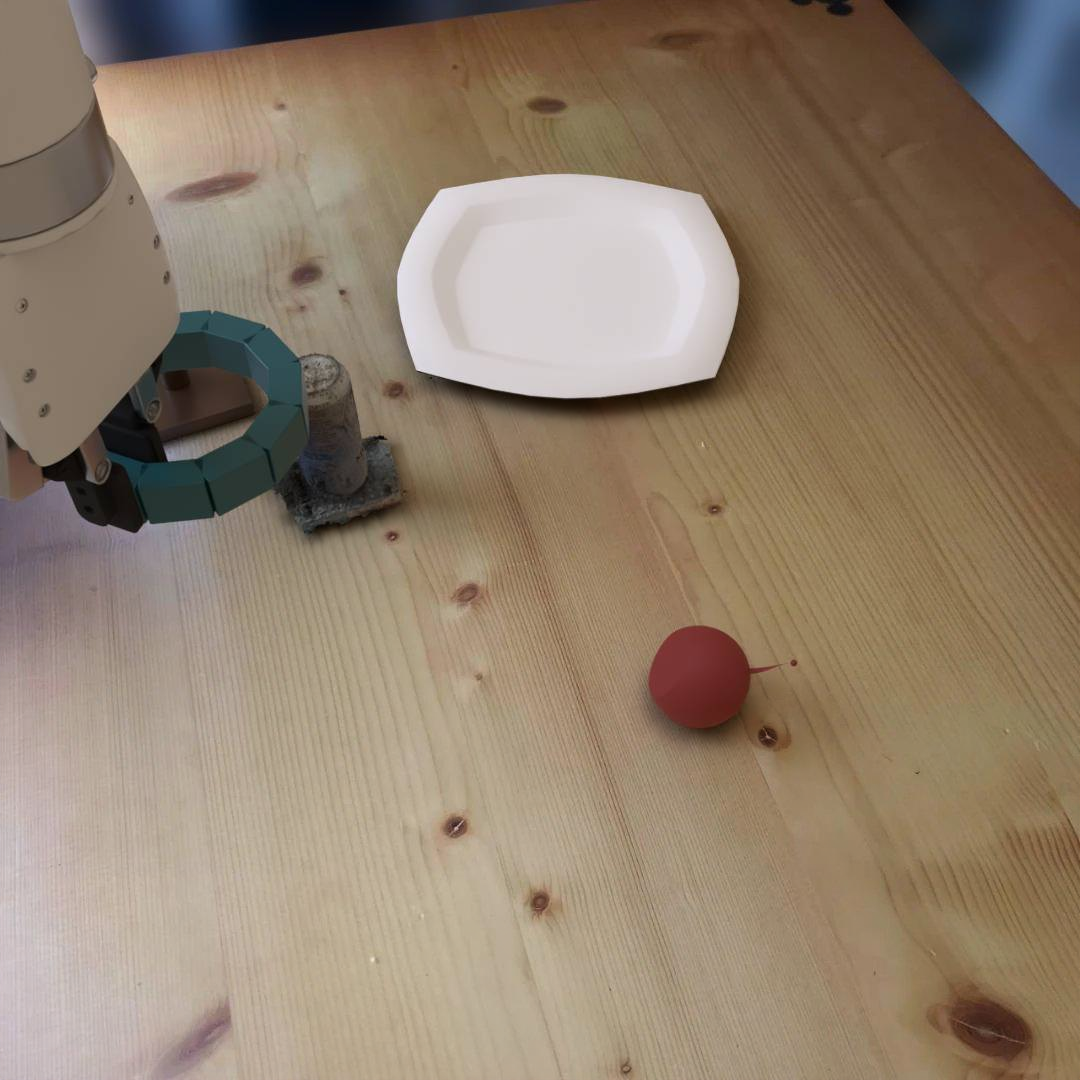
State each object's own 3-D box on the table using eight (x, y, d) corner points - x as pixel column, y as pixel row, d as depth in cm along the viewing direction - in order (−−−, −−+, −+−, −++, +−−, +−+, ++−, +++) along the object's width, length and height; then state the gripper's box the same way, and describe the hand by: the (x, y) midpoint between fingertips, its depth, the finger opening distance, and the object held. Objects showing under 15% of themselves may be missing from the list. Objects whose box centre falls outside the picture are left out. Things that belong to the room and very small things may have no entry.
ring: (229, 553, 58) (218, 518, 56) (12, 479, 60) (-5, 443, 59) (350, 383, 64) (345, 347, 63) (150, 323, 67) (139, 287, 65)
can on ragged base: (308, 551, 87) (281, 426, 78) (261, 477, 91) (229, 350, 82) (427, 497, 90) (414, 371, 81) (376, 429, 94) (359, 301, 85)
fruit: (714, 760, 80) (797, 708, 74) (636, 726, 78) (715, 670, 72) (719, 677, 83) (799, 621, 78) (645, 642, 82) (721, 583, 76)
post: (133, 451, 93) (88, 321, 84) (105, 371, 98) (59, 240, 89) (255, 414, 95) (224, 283, 86) (221, 338, 101) (188, 207, 91)
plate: (726, 195, 112) (729, 175, 111) (748, 420, 95) (751, 401, 94) (414, 189, 113) (413, 169, 111) (381, 411, 96) (378, 392, 94)
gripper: (45, 22, 51) (154, 368, 65) (-253, 263, 42) (-50, 604, 56) (212, 63, 49) (286, 409, 63) (-63, 324, 40) (97, 660, 54)
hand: (127, 498), depth 59 cm, fingers closed on ring, 1 cm apart
